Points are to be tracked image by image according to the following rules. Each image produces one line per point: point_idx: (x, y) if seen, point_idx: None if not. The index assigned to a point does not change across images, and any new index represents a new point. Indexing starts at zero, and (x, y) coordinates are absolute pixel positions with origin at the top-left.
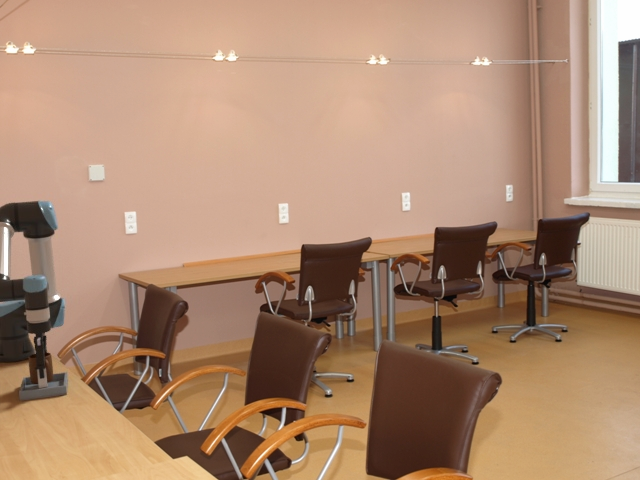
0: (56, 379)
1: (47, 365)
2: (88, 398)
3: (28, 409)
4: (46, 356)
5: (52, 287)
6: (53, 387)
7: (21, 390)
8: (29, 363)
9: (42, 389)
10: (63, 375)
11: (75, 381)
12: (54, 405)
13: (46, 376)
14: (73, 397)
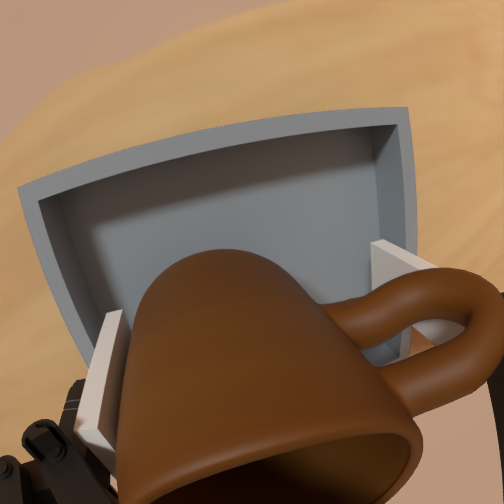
0: (73, 256)
1: (497, 291)
2: (435, 13)
3: (479, 256)
4: (403, 429)
5: None
6: (413, 189)
7: (388, 364)
8: (322, 490)
9: (415, 254)
10: (48, 209)
11: (86, 107)
12: (479, 157)
13: (421, 267)
14: (418, 73)
